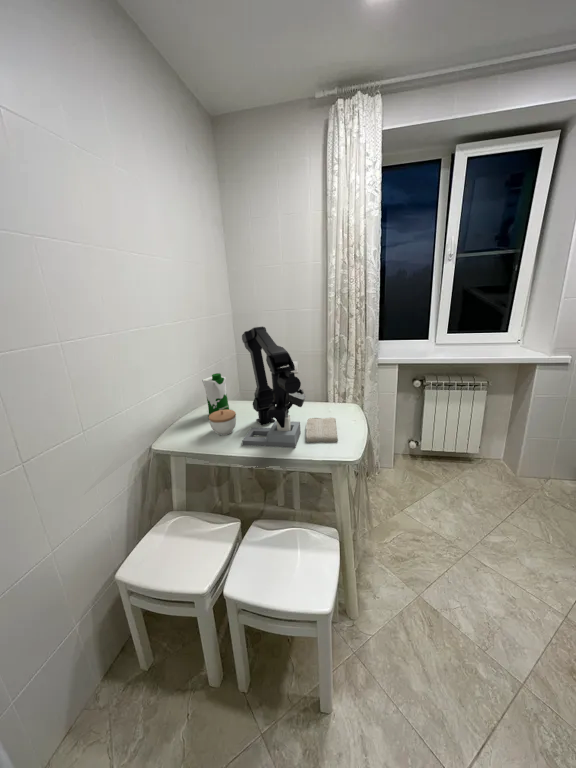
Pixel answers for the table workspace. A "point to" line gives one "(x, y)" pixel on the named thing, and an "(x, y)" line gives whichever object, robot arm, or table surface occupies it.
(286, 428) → the plug
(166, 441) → the table surface
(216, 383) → the milk carton
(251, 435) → the socket panel
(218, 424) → the lidded jar
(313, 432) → the washcloth
